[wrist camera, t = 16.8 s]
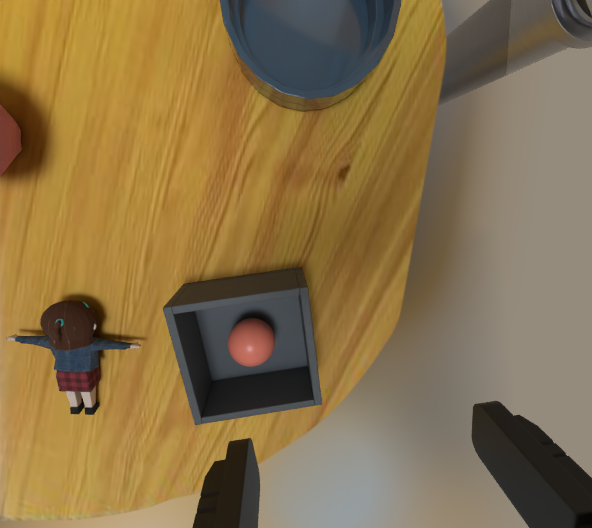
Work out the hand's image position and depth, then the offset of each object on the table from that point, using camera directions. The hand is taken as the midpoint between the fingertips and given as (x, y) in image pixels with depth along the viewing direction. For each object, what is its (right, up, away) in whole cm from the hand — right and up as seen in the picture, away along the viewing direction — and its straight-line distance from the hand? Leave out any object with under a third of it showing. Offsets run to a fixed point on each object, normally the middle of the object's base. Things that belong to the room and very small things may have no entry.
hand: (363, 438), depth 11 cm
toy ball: (-7, -2, +22) cm, 23 cm away
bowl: (-2, +28, +17) cm, 33 cm away
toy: (-27, -4, +25) cm, 37 cm away
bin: (-8, -2, +25) cm, 26 cm away
